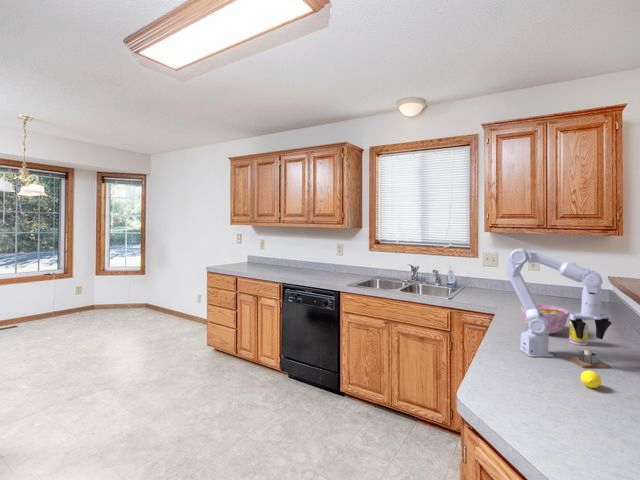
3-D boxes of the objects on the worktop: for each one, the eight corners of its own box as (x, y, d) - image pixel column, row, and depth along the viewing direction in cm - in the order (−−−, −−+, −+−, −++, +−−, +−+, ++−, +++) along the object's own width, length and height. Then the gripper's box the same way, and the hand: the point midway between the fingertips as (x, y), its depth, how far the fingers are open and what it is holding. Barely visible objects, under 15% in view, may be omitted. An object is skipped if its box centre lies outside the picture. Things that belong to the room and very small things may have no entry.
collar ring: (586, 364, 128) (587, 356, 127) (575, 358, 133) (575, 350, 133) (601, 364, 128) (602, 356, 127) (589, 358, 133) (590, 350, 133)
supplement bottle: (569, 339, 157) (570, 312, 157) (587, 342, 153) (589, 314, 152) (568, 343, 152) (569, 315, 151) (587, 347, 148) (588, 318, 147)
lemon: (580, 382, 116) (581, 366, 116) (601, 387, 113) (602, 371, 113) (579, 387, 111) (580, 370, 111) (600, 392, 107) (601, 375, 108)
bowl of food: (553, 326, 177) (554, 304, 177) (578, 339, 157) (579, 314, 157) (512, 325, 179) (513, 303, 179) (532, 337, 159) (533, 313, 159)
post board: (582, 367, 127) (583, 354, 126) (567, 359, 135) (567, 346, 134) (609, 368, 127) (610, 354, 126) (592, 359, 135) (593, 346, 134)
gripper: (580, 305, 125) (578, 341, 126) (619, 305, 125) (617, 342, 126) (566, 301, 132) (564, 335, 133) (603, 301, 132) (601, 335, 133)
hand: (589, 338), depth 130 cm, fingers open, 7 cm apart
